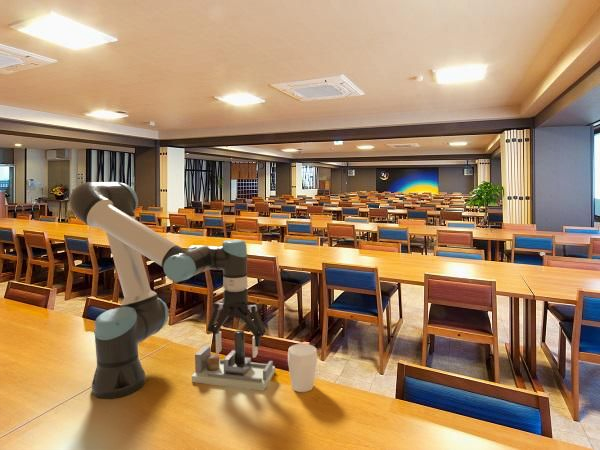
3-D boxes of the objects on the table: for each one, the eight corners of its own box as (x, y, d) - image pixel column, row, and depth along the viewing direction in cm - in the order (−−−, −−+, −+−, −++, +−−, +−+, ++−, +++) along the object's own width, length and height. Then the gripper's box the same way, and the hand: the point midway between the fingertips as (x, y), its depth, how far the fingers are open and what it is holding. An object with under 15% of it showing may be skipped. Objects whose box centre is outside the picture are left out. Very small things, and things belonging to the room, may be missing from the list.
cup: (314, 396, 112) (314, 357, 111) (284, 392, 114) (284, 354, 113) (318, 380, 121) (319, 344, 120) (291, 378, 123) (291, 342, 121)
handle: (223, 374, 120) (222, 335, 119) (232, 364, 127) (231, 327, 126) (243, 376, 119) (242, 337, 117) (251, 366, 126) (250, 328, 124)
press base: (191, 381, 120) (190, 357, 119) (209, 364, 132) (208, 342, 131) (263, 390, 115) (263, 365, 114) (274, 371, 127) (274, 349, 126)
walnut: (204, 370, 123) (204, 359, 123) (210, 365, 127) (210, 353, 127) (216, 372, 122) (215, 360, 122) (221, 366, 126) (221, 354, 126)
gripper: (195, 289, 119) (197, 355, 121) (268, 294, 114) (268, 363, 116) (206, 283, 126) (207, 345, 129) (275, 287, 121) (275, 352, 123)
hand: (236, 353), depth 122 cm, fingers open, 12 cm apart
